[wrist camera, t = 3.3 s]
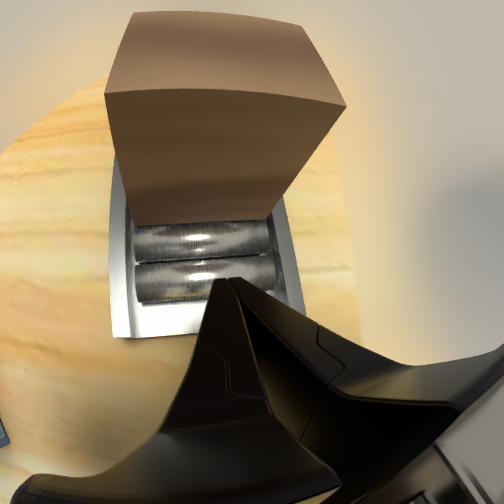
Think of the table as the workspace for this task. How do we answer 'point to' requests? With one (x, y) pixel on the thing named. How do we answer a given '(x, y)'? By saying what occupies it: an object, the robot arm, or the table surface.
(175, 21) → the block
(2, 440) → the ink cartridge box
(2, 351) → the table surface
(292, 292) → the roller bed
